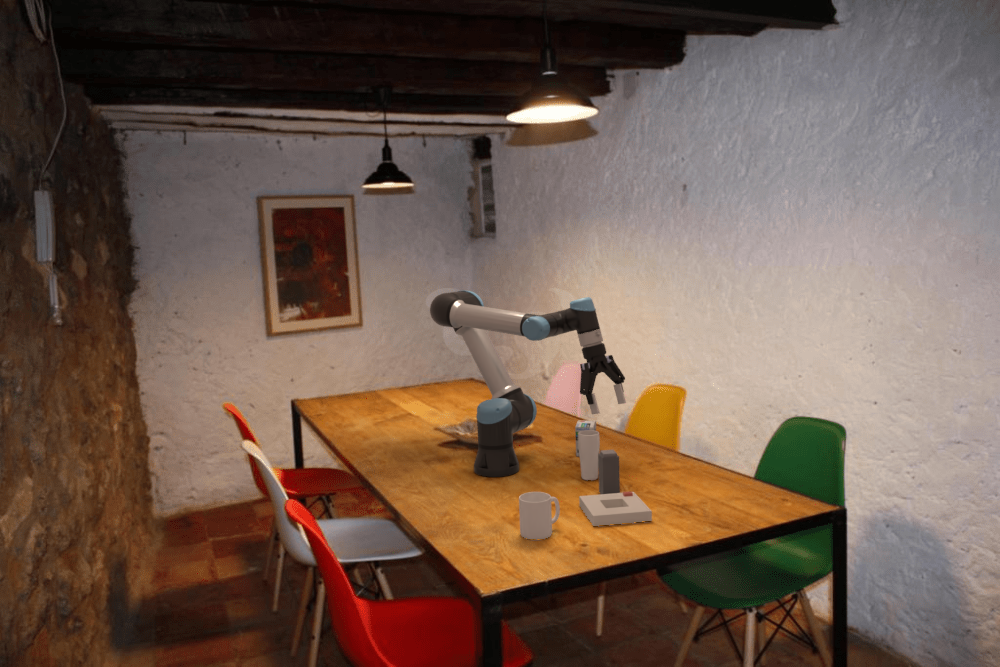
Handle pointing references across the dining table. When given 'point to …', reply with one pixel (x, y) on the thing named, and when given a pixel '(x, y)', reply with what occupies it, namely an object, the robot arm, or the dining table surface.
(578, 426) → the light bulb box
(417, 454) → the dining table surface
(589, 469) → the drinking glass
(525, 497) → the cup
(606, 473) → the plug
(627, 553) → the dining table surface
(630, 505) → the socket
